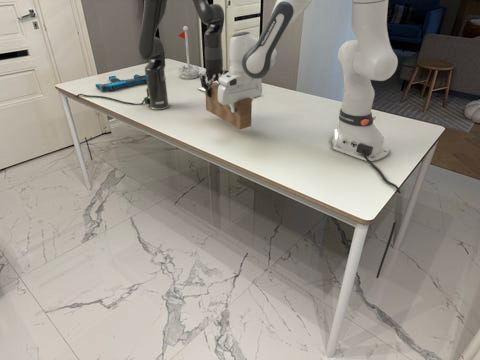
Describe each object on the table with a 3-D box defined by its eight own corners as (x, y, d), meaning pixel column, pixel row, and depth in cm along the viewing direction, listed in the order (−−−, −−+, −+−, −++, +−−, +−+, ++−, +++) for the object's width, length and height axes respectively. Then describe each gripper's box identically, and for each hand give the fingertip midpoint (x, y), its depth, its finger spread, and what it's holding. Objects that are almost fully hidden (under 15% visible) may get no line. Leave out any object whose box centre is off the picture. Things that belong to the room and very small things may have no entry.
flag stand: (196, 72, 226) (193, 23, 210) (202, 77, 216) (198, 27, 200) (177, 74, 223) (172, 25, 206) (181, 80, 212) (177, 28, 196)
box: (251, 126, 143) (251, 99, 137) (240, 129, 141) (240, 102, 134) (216, 107, 162) (215, 82, 155) (206, 109, 159) (204, 84, 152)
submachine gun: (140, 69, 224) (158, 75, 207) (141, 74, 225) (159, 81, 209) (88, 79, 205) (103, 86, 188) (89, 85, 207) (105, 93, 190)
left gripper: (222, 53, 150) (223, 90, 160) (194, 57, 143) (197, 96, 153) (232, 56, 145) (233, 94, 155) (203, 61, 138) (205, 101, 147)
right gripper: (256, 70, 140) (255, 102, 148) (214, 79, 130) (216, 113, 138) (266, 74, 136) (264, 106, 144) (223, 83, 126) (224, 118, 134)
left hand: (215, 95), depth 153 cm, fingers closed on box, 5 cm apart
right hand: (240, 110), depth 141 cm, fingers closed on box, 6 cm apart
